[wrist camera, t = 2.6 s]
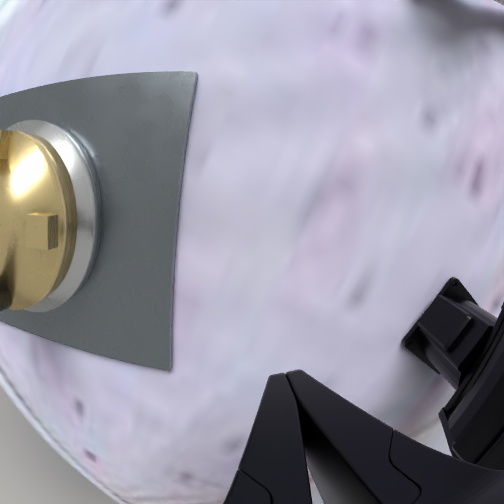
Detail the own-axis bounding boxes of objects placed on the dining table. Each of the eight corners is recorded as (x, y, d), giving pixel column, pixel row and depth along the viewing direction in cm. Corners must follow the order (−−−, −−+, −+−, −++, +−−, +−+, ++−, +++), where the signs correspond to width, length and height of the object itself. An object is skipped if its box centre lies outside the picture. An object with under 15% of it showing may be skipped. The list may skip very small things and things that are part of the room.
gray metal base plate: (197, 75, 16) (191, 63, 14) (171, 366, 20) (165, 382, 18) (-28, 108, 15) (-41, 106, 13) (-30, 303, 19) (-41, 309, 18)
